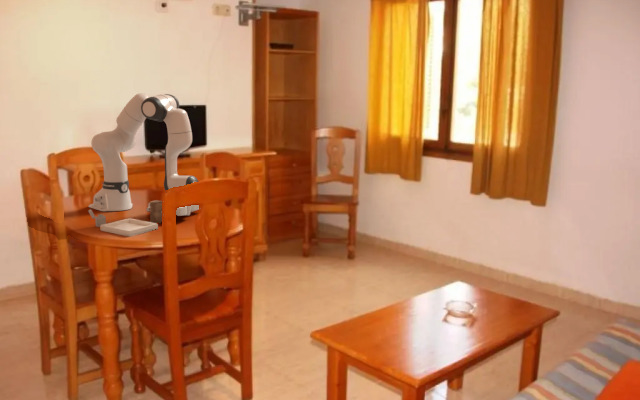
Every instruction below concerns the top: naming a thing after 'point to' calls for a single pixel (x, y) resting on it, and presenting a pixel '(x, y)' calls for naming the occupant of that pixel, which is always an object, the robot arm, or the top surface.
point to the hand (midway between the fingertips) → (155, 211)
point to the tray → (129, 227)
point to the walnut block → (155, 211)
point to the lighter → (98, 218)
